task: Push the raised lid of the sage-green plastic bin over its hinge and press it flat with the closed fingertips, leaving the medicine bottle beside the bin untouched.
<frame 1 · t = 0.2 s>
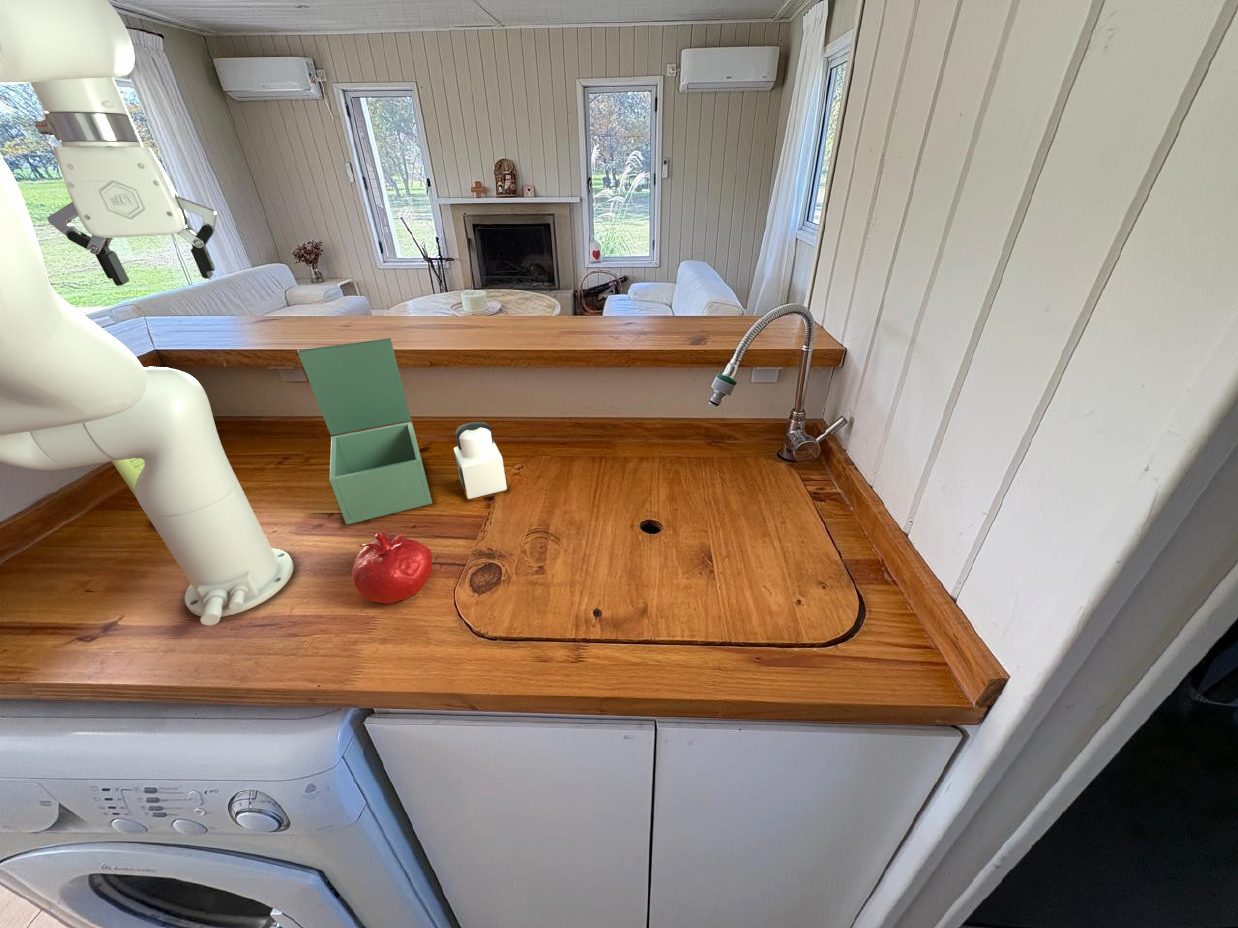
hand: (166, 280, 69), 37 cm above the counter, tool pointing down, fingers open, 9 cm apart
lid: (359, 388, 85), point 17 cm above the counter, hinge at 80.0°
pomegranate: (400, 586, 70), on the counter
bin: (387, 490, 90), on the counter
tube: (174, 518, 83), on the counter
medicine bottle: (483, 486, 91), on the counter
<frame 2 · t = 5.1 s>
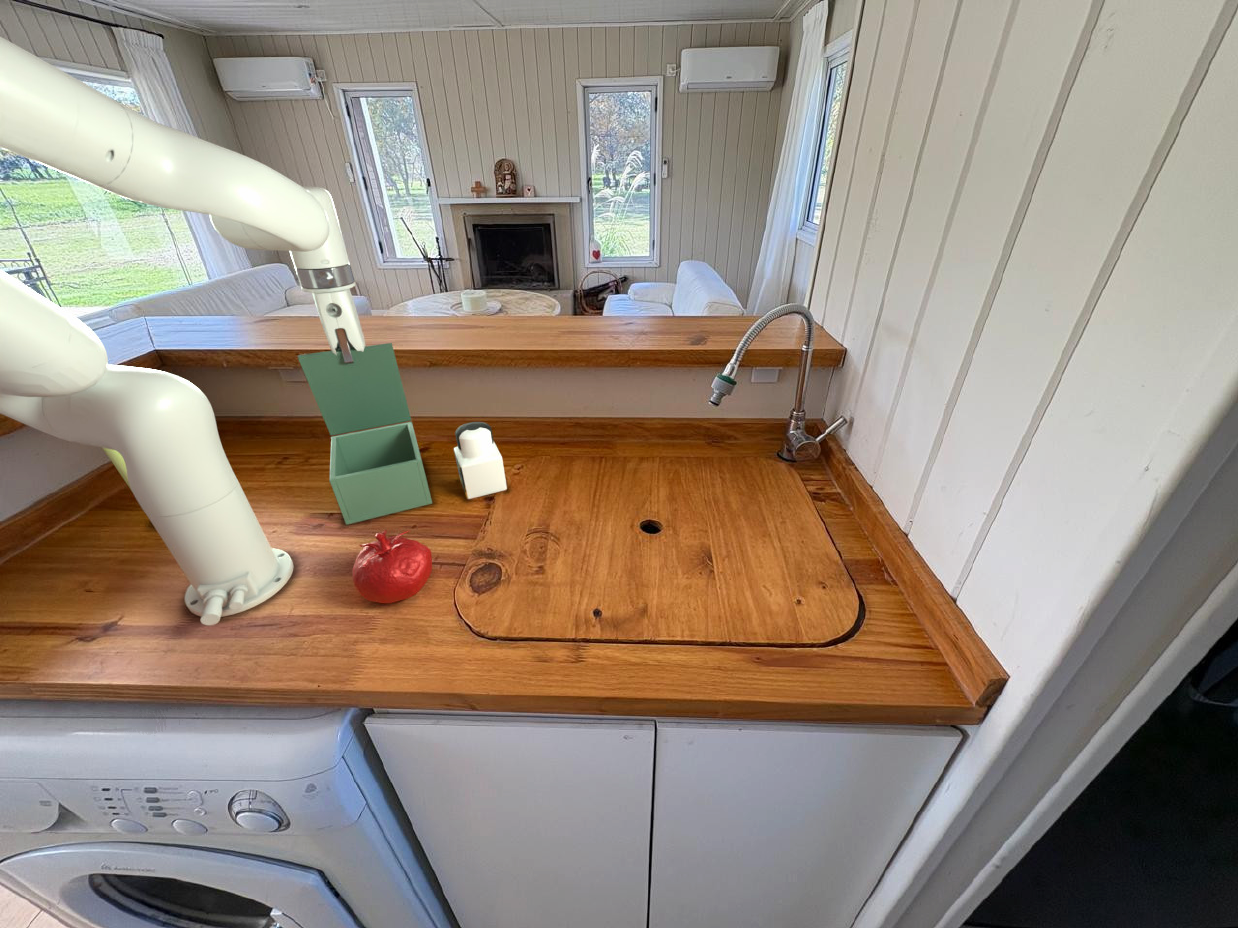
hand: (359, 387, 86), 17 cm above the counter, tool pointing down, fingers closed
lid: (360, 391, 85), point 17 cm above the counter, hinge at 74.3°, touching gripper
everything else where it was.
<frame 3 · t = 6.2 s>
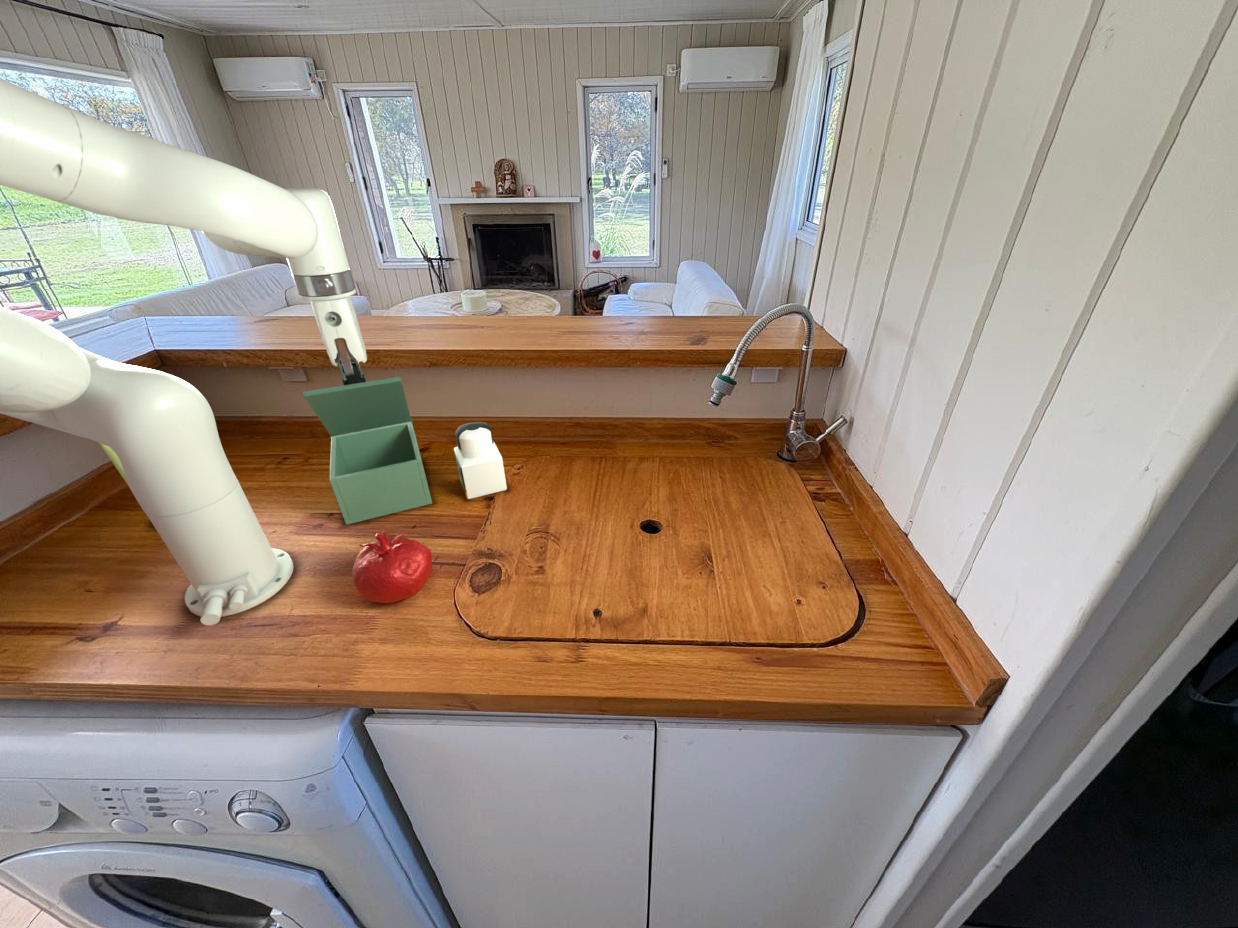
hand: (360, 399, 82), 17 cm above the counter, tool pointing down, fingers closed
lid: (363, 408, 83), point 15 cm above the counter, hinge at 47.7°
everything else where it was.
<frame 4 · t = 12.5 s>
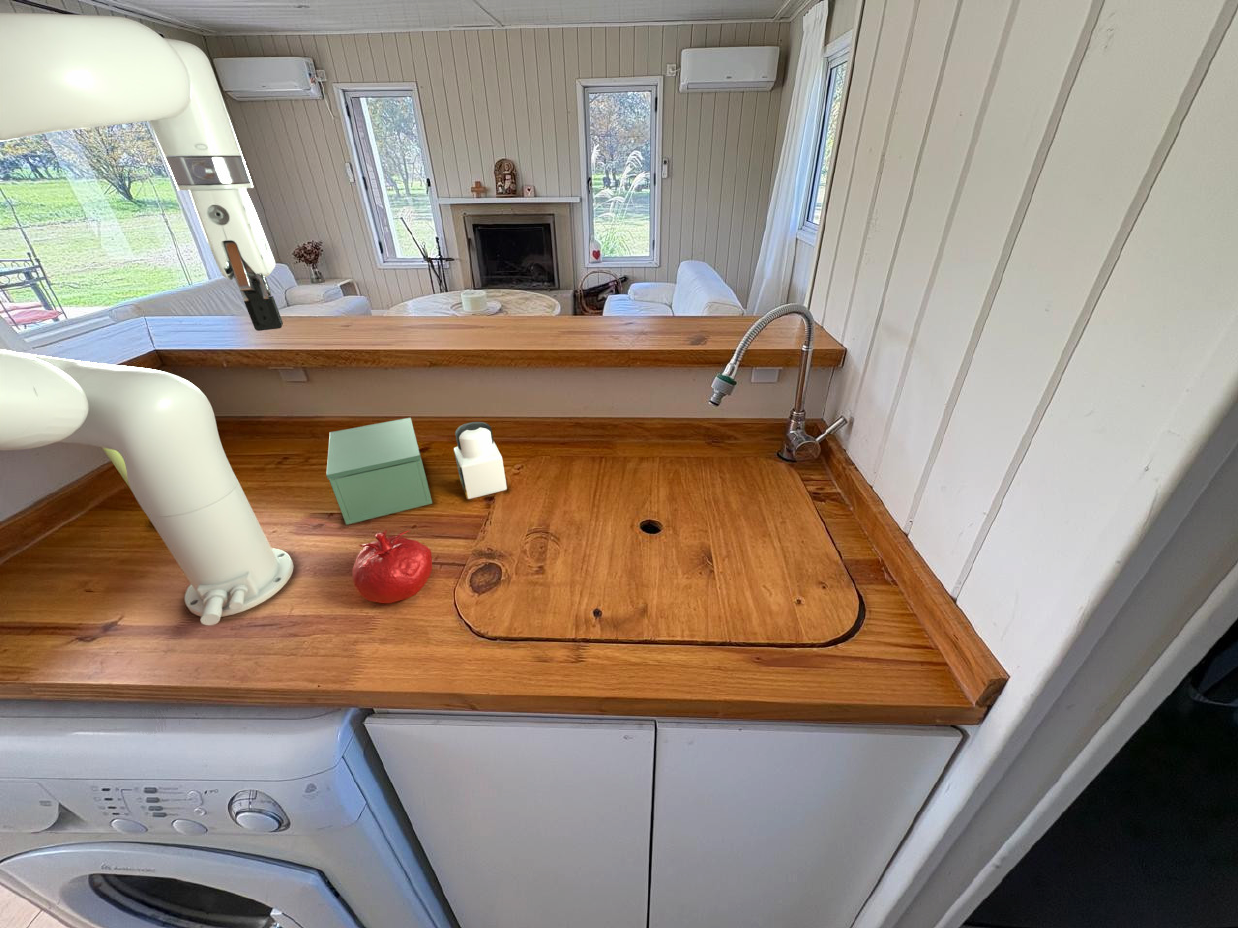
hand: (269, 327, 69), 31 cm above the counter, tool pointing down, fingers closed
lid: (373, 445, 84), point 10 cm above the counter, hinge at 2.0°
everything else where it was.
at the end: lid at +2° (first picture: +80°); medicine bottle moved 0.2 cm from its start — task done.
